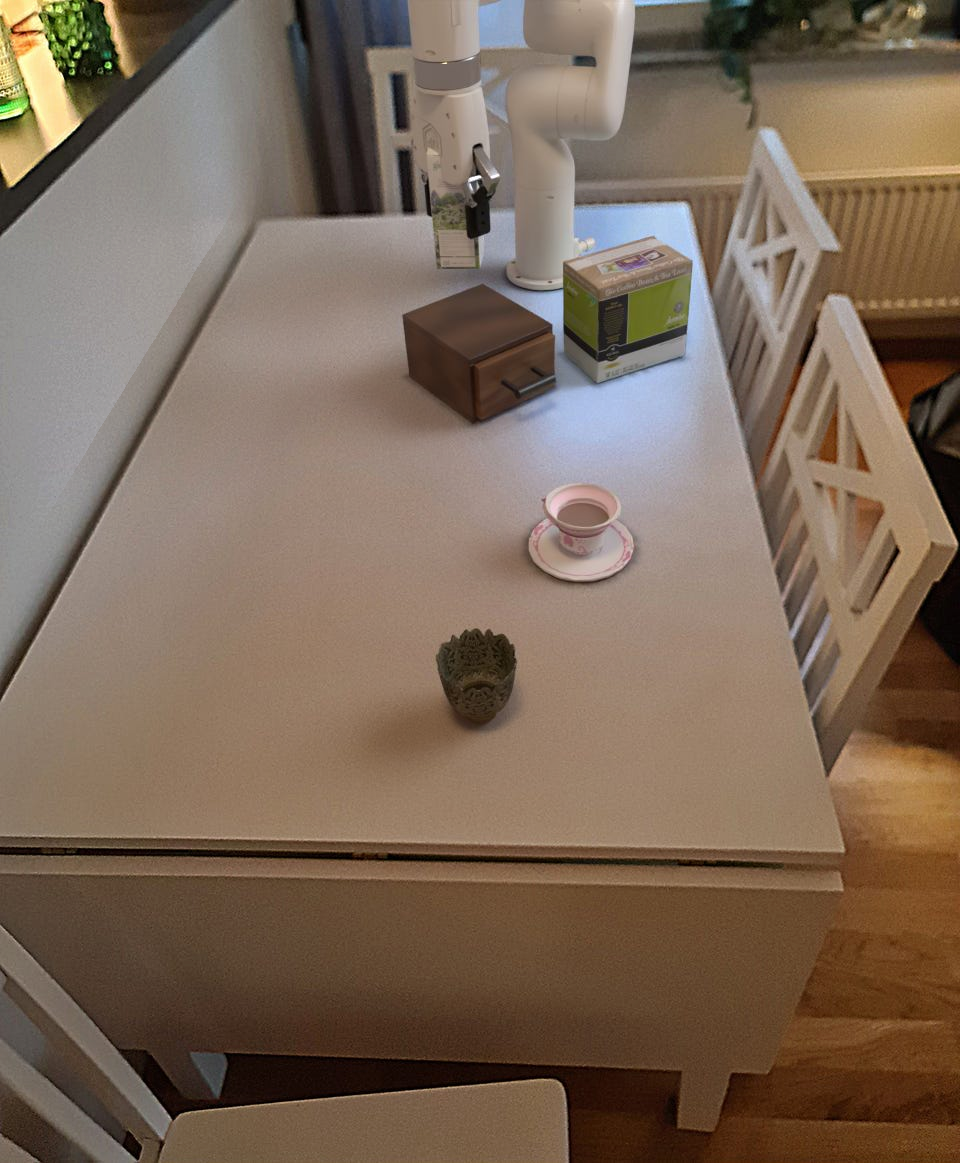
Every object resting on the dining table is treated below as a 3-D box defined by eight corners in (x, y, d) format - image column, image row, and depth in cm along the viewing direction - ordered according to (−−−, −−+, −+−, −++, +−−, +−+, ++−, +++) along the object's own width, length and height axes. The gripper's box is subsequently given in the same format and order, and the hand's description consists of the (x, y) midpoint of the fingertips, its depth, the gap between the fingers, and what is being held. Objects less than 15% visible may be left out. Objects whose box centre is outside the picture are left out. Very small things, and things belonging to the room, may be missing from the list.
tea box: (647, 327, 143) (655, 232, 133) (686, 357, 137) (697, 259, 127) (560, 354, 139) (561, 257, 129) (595, 386, 133) (599, 287, 122)
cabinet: (552, 387, 133) (552, 324, 126) (473, 424, 127) (468, 359, 121) (485, 344, 142) (482, 283, 136) (409, 376, 137) (401, 314, 130)
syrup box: (485, 249, 123) (479, 133, 113) (480, 270, 119) (473, 151, 109) (441, 250, 124) (431, 134, 114) (435, 271, 120) (424, 152, 109)
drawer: (575, 399, 129) (576, 348, 123) (501, 434, 124) (498, 382, 118) (491, 346, 140) (489, 296, 135) (421, 376, 135) (415, 325, 130)
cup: (440, 685, 95) (433, 630, 89) (514, 678, 95) (511, 623, 89) (444, 746, 89) (438, 691, 84) (522, 738, 89) (521, 683, 84)
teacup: (649, 530, 110) (653, 488, 106) (609, 596, 102) (611, 554, 98) (555, 503, 114) (555, 462, 110) (510, 564, 107) (508, 522, 103)
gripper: (378, 62, 110) (395, 211, 122) (465, 97, 99) (474, 256, 111) (431, 47, 113) (443, 195, 125) (522, 80, 102) (525, 237, 114)
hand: (458, 223), depth 118 cm, fingers closed on syrup box, 8 cm apart
